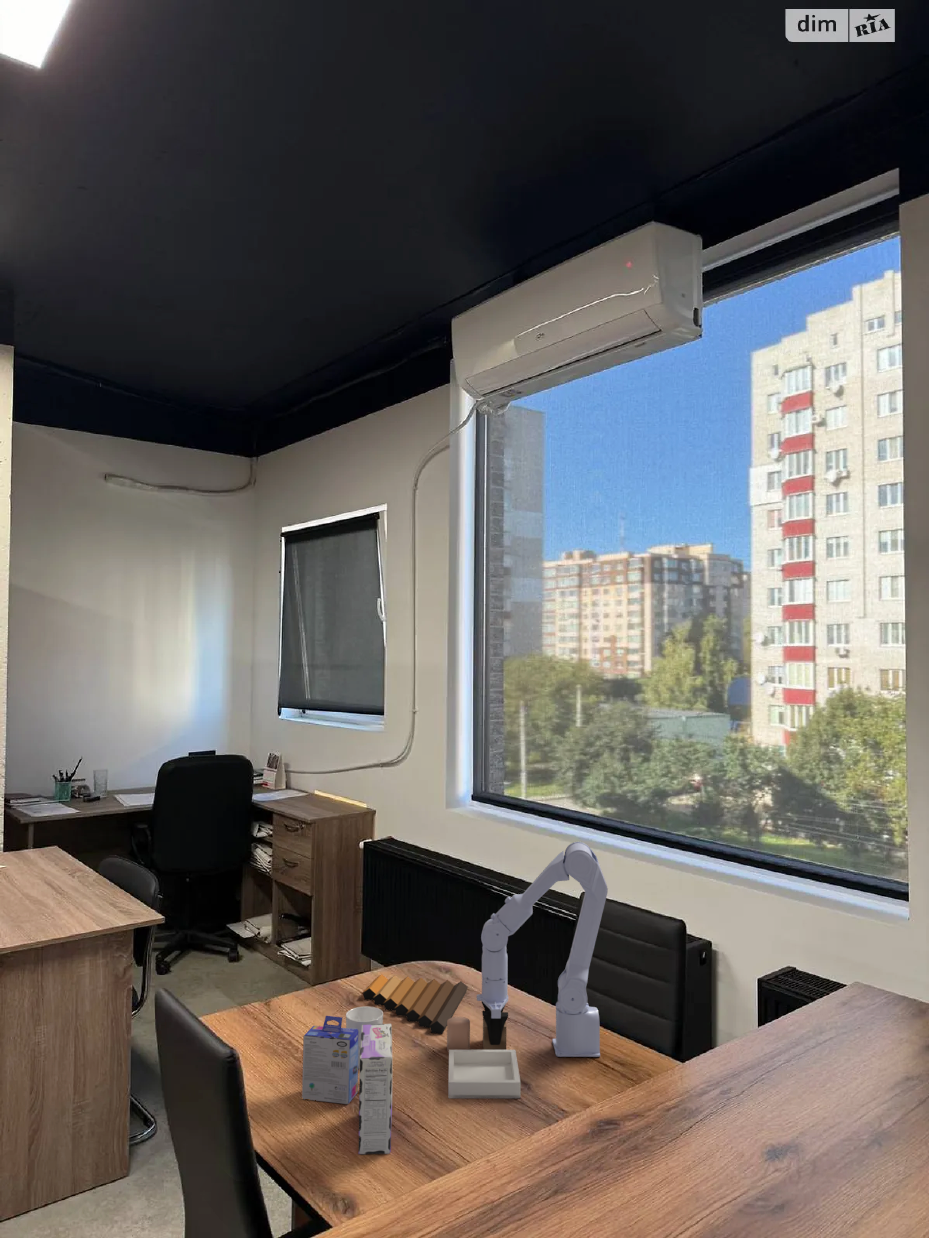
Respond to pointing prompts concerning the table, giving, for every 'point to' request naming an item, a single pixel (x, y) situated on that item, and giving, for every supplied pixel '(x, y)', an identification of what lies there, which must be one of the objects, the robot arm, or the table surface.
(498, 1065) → the off-white tray
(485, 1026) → the walnut cube
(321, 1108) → the table surface
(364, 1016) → the white cup
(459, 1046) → the beige rounded cylinder
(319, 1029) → the ink cartridge box
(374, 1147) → the candy box
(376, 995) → the pan flute
